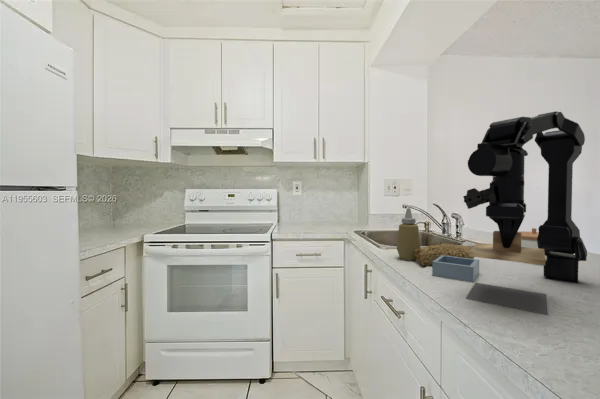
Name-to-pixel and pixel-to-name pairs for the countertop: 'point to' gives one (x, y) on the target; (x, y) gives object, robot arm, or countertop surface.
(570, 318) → the countertop surface
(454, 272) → the ceramic dish
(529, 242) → the lidded bowl
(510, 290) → the rubber mat
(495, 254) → the oak lid
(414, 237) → the squeeze bottle
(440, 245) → the sponge
